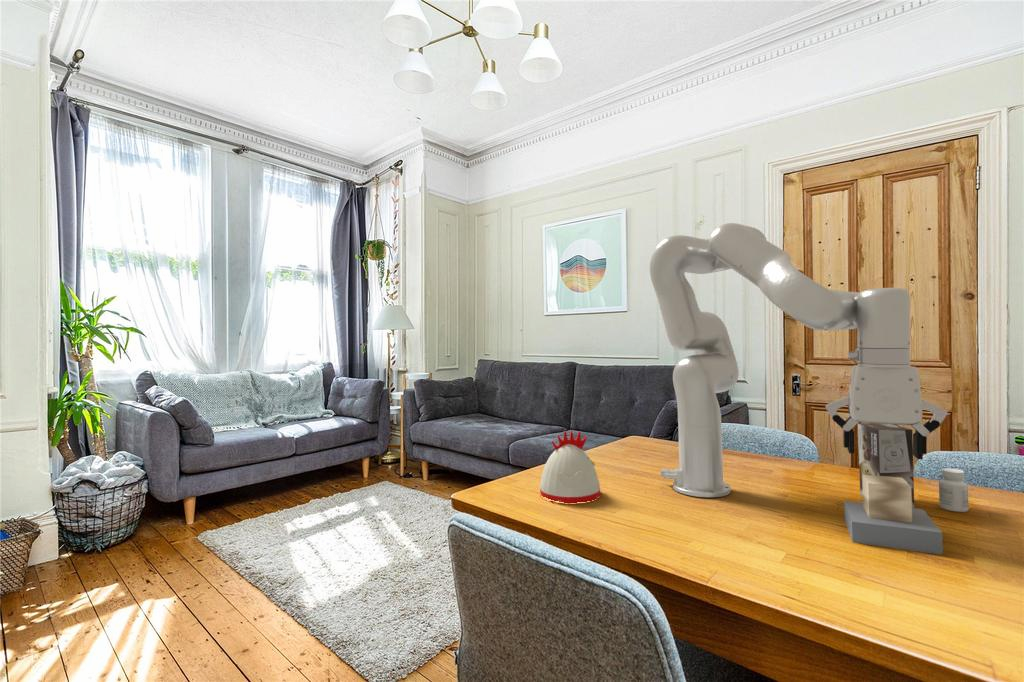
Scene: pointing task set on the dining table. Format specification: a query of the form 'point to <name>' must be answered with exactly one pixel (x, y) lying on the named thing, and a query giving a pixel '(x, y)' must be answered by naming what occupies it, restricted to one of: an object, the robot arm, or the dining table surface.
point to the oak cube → (887, 498)
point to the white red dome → (570, 473)
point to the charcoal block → (893, 530)
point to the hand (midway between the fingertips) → (883, 454)
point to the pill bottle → (953, 491)
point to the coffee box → (886, 452)
